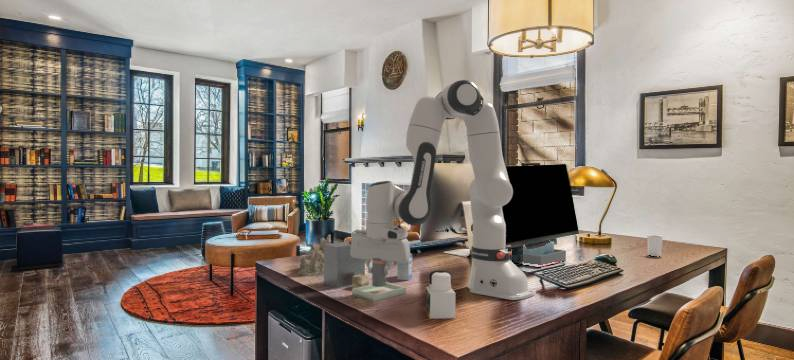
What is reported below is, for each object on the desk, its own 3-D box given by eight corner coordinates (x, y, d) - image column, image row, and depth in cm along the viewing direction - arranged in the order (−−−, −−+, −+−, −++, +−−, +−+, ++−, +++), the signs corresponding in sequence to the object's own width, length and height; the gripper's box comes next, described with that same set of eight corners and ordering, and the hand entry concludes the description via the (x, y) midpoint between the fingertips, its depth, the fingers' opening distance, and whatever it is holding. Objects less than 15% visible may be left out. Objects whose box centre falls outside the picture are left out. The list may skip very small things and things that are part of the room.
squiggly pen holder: (524, 265, 195) (524, 244, 194) (510, 261, 204) (510, 240, 204) (557, 262, 201) (557, 242, 201) (542, 258, 210) (542, 239, 210)
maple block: (368, 287, 154) (368, 275, 154) (361, 289, 151) (361, 277, 150) (359, 285, 156) (359, 274, 156) (352, 287, 153) (352, 276, 153)
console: (364, 282, 160) (365, 241, 159) (337, 288, 151) (337, 245, 151) (350, 278, 166) (350, 239, 166) (323, 283, 158) (323, 242, 157)
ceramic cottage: (325, 264, 190) (323, 229, 188) (342, 273, 176) (340, 236, 175) (289, 271, 181) (288, 234, 180) (304, 281, 167) (302, 241, 166)
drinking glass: (663, 257, 213) (664, 237, 213) (647, 256, 216) (648, 236, 216) (661, 255, 220) (661, 235, 219) (645, 254, 222) (646, 234, 222)
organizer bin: (565, 261, 202) (565, 250, 202) (540, 268, 187) (540, 256, 187) (537, 257, 212) (537, 246, 212) (511, 263, 197) (511, 251, 197)
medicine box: (408, 280, 163) (408, 257, 163) (396, 280, 164) (396, 256, 164) (412, 276, 171) (412, 253, 171) (400, 275, 172) (401, 252, 172)
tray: (406, 293, 146) (406, 287, 146) (372, 301, 136) (372, 295, 136) (385, 287, 153) (385, 281, 153) (352, 294, 143) (352, 288, 143)
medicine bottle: (425, 311, 127) (425, 269, 127) (450, 310, 128) (450, 268, 128) (429, 319, 120) (429, 274, 120) (455, 318, 121) (455, 274, 121)
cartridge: (388, 284, 146) (388, 256, 146) (382, 287, 142) (382, 259, 141) (375, 282, 147) (376, 255, 147) (369, 285, 143) (369, 257, 143)
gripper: (346, 230, 146) (346, 272, 146) (404, 234, 137) (404, 279, 138) (356, 228, 151) (355, 268, 151) (412, 232, 143) (411, 275, 143)
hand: (379, 273), depth 144 cm, fingers closed on cartridge, 4 cm apart
